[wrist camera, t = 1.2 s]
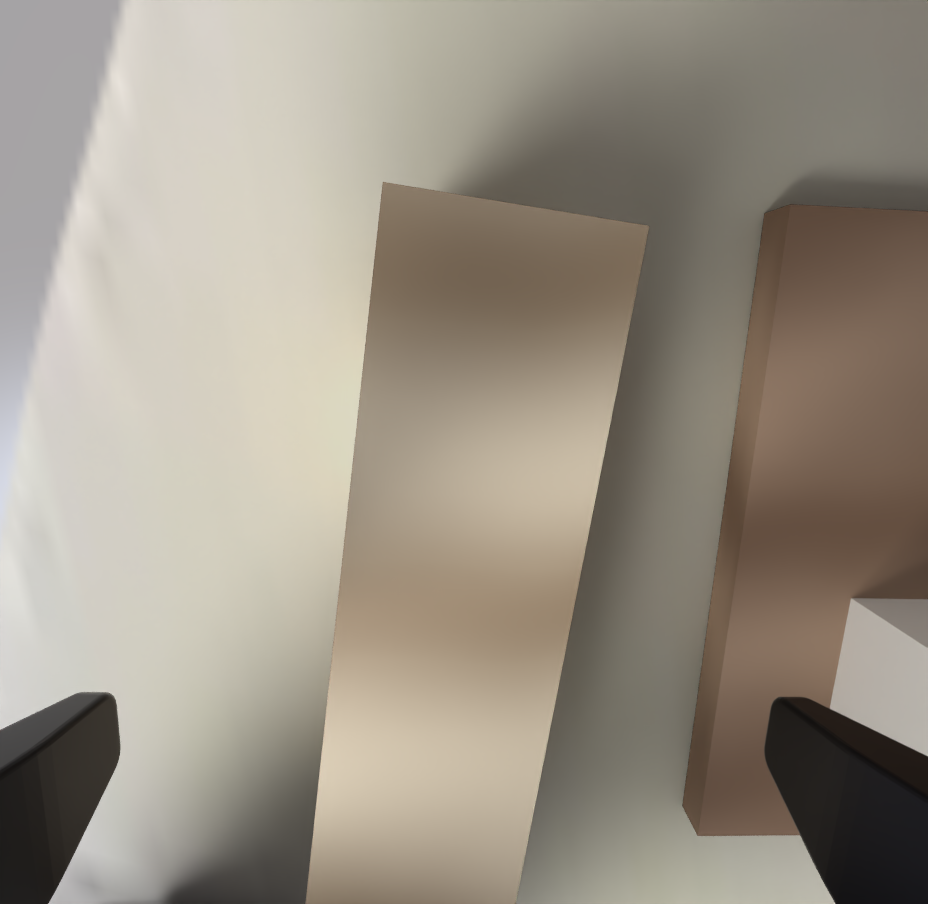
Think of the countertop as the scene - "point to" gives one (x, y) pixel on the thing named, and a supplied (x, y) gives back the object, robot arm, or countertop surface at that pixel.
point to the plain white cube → (886, 669)
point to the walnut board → (812, 487)
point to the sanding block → (464, 538)
